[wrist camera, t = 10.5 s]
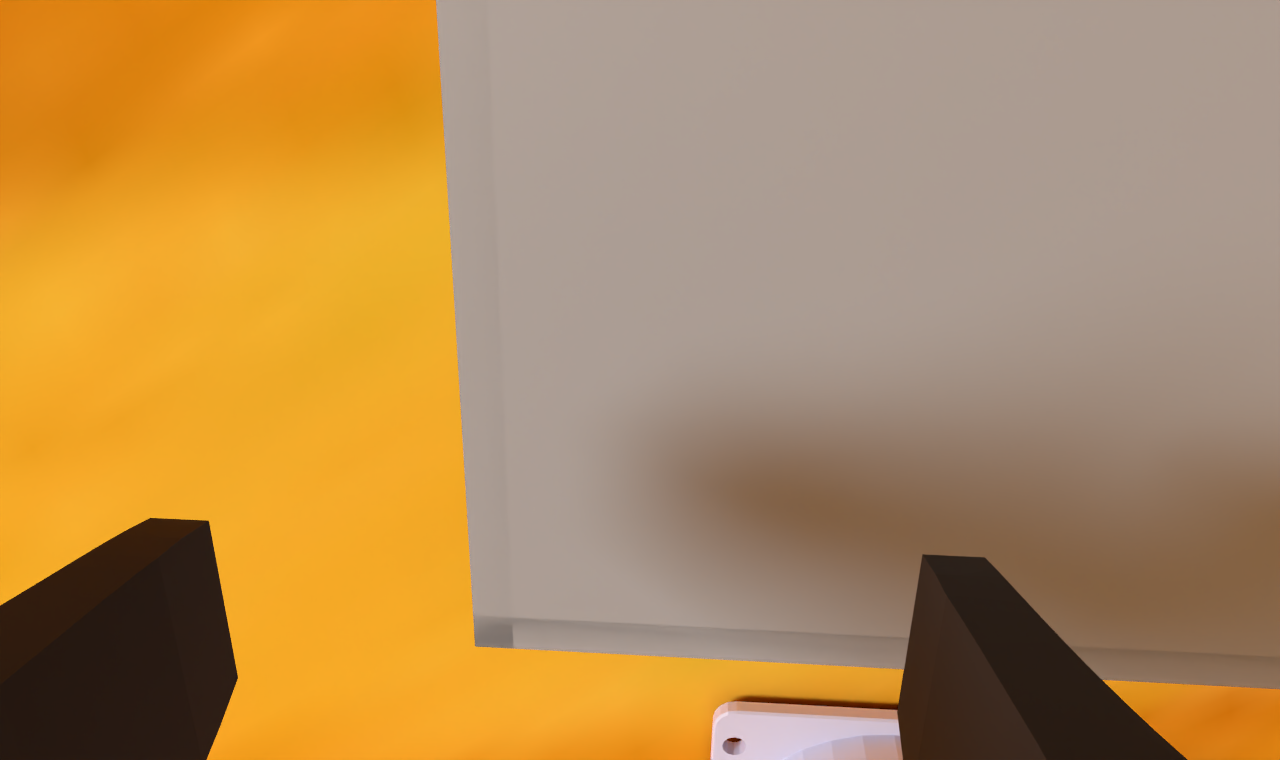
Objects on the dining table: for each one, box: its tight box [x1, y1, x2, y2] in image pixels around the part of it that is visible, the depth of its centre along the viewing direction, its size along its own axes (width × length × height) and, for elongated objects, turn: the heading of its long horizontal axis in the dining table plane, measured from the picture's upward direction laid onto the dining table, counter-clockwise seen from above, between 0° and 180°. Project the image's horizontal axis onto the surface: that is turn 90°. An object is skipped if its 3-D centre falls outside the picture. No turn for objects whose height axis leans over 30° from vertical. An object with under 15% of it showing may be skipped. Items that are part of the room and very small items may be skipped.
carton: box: [436, 0, 1280, 689], centre depth 16 cm, size 15×16×6 cm
